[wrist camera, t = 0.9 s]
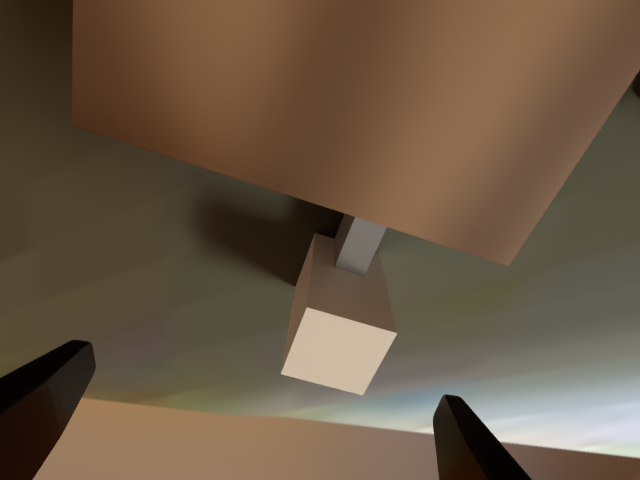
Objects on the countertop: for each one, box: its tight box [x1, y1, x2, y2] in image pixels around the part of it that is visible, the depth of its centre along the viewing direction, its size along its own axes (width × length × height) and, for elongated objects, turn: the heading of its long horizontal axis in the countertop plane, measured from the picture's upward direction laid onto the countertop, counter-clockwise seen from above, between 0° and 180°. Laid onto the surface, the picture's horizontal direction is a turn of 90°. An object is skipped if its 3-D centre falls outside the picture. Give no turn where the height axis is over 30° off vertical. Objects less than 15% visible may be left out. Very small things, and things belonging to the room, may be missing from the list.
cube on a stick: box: [281, 213, 397, 395], centre depth 17 cm, size 4×16×7 cm, turn 162°
